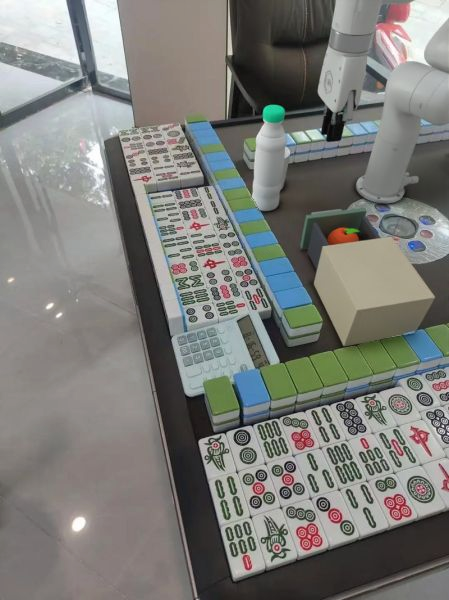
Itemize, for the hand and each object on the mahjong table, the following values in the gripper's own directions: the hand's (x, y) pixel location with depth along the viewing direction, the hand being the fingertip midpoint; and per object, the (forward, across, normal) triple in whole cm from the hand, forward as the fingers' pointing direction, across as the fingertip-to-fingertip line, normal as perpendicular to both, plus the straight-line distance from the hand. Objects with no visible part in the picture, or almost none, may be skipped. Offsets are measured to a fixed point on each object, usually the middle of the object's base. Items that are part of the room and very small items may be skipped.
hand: (330, 136), depth 91 cm
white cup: (+22, -17, -6) cm, 29 cm away
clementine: (+20, +15, +1) cm, 25 cm away
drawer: (+21, +15, 0) cm, 26 cm away
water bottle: (+22, -9, -10) cm, 26 cm away
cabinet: (+22, +29, 0) cm, 36 cm away
